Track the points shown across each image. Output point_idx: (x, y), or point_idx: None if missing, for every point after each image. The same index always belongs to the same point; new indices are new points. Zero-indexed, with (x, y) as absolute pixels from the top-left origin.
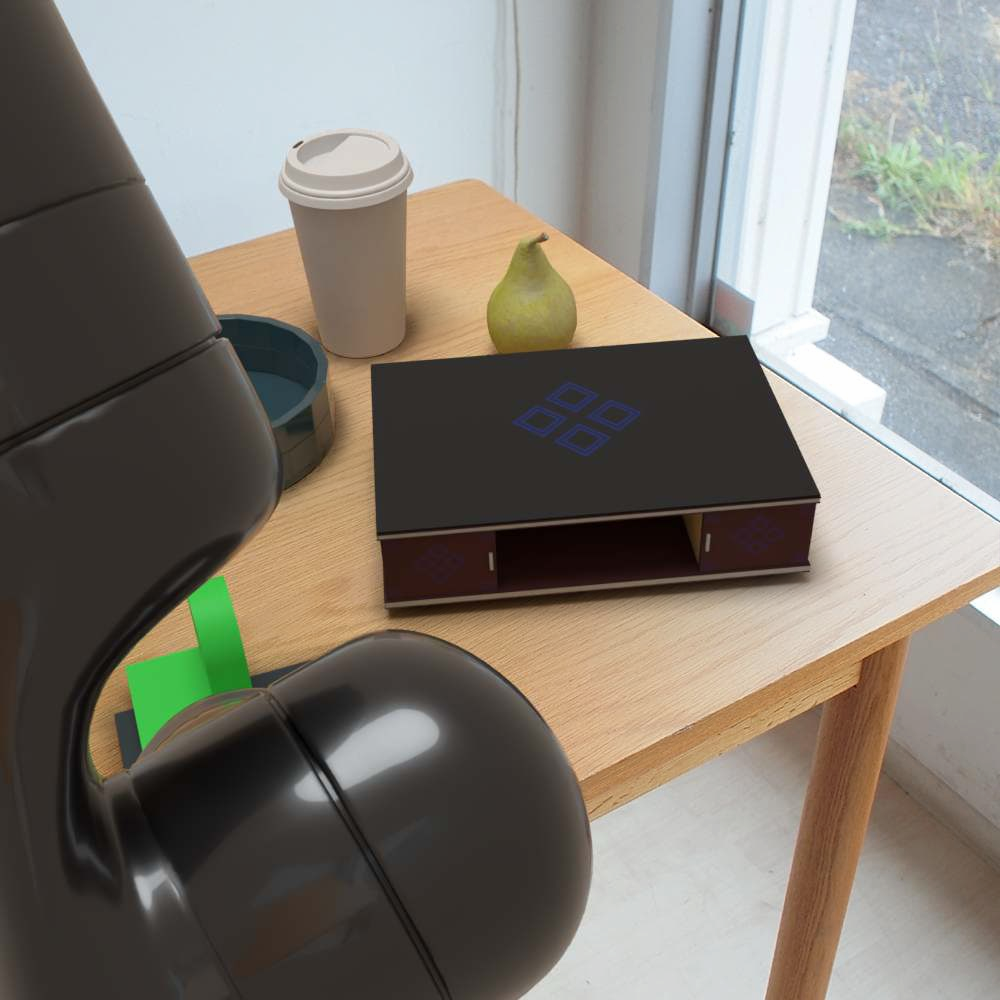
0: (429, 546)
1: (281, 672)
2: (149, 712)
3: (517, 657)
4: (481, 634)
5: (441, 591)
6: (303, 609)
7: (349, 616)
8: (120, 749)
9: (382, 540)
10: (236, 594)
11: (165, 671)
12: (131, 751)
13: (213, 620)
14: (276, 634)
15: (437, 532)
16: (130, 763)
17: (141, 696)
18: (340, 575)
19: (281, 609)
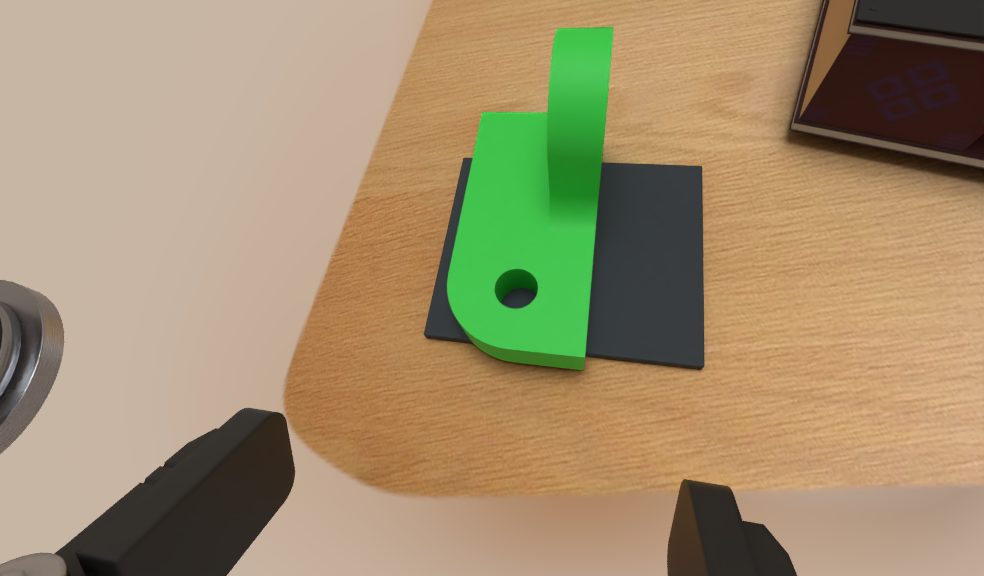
0: (920, 62)
1: (640, 169)
2: (483, 176)
3: (946, 252)
4: (902, 201)
5: (879, 130)
6: (689, 99)
7: (738, 124)
8: (454, 199)
9: (856, 34)
10: (625, 62)
11: (518, 132)
12: (462, 206)
13: (575, 93)
14: (650, 120)
15: (956, 42)
16: (456, 219)
17: (483, 153)
18: (744, 70)
19: (665, 92)
